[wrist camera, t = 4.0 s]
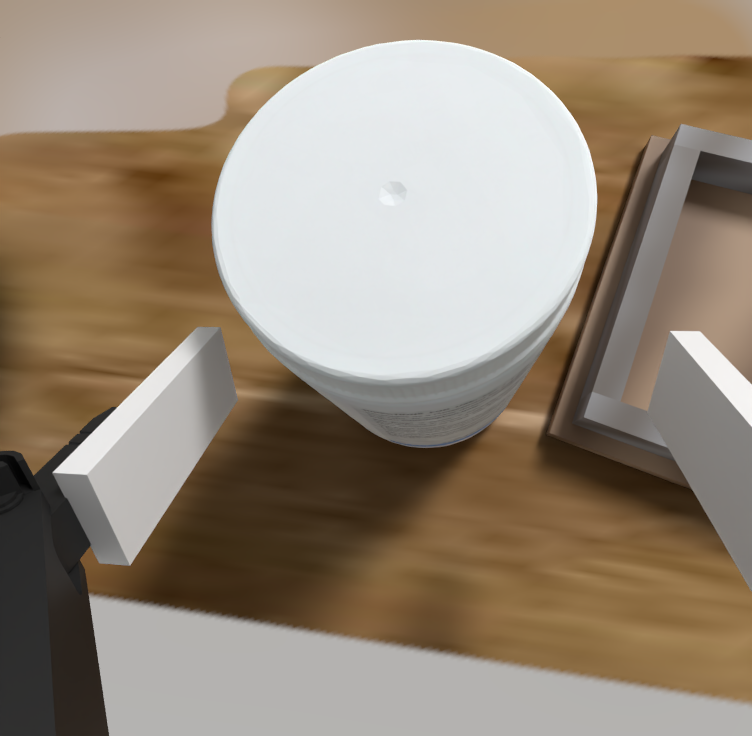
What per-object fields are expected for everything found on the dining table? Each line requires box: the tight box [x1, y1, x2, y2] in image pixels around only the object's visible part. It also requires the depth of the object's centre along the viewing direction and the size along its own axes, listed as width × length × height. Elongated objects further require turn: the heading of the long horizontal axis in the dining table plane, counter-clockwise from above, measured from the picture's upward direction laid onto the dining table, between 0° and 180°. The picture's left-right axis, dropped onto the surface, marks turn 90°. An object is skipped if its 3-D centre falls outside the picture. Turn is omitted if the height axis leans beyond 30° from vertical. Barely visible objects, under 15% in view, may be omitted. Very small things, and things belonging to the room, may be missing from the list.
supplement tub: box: [212, 40, 597, 448], centre depth 18 cm, size 10×10×15 cm
